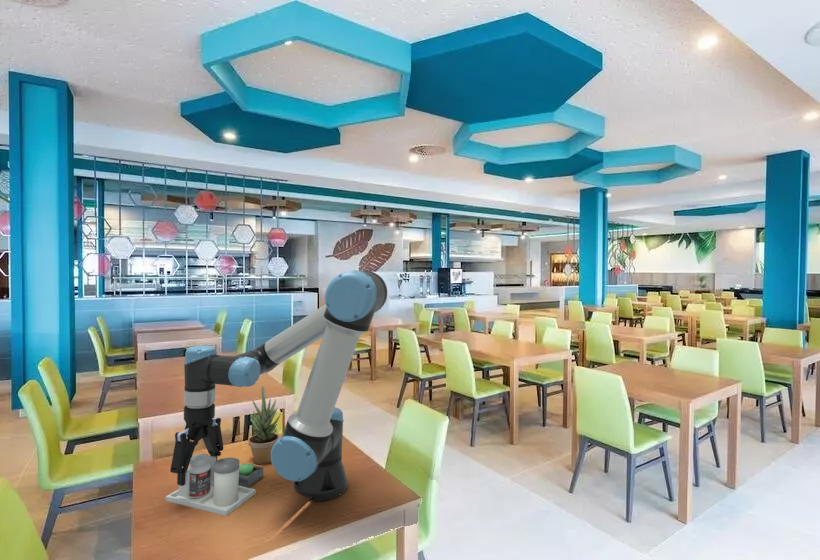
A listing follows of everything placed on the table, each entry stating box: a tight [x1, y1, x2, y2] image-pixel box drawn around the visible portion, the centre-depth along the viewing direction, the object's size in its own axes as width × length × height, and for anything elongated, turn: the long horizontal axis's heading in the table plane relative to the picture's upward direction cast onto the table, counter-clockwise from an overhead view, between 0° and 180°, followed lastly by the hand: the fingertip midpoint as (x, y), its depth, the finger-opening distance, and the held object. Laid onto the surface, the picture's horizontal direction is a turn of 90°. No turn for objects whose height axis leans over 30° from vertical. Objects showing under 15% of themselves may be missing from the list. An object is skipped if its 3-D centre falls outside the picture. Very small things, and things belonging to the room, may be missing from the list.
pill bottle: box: [187, 453, 211, 499], centre depth 118 cm, size 6×6×10 cm
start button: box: [239, 463, 254, 476], centre depth 126 cm, size 4×4×2 cm
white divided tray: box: [165, 480, 257, 517], centre depth 116 cm, size 20×13×2 cm, turn 72°
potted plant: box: [247, 384, 281, 465], centre depth 142 cm, size 10×10×25 cm
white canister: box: [213, 457, 240, 507], centre depth 115 cm, size 6×6×10 cm
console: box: [239, 464, 264, 488], centre depth 126 cm, size 7×7×4 cm
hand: (197, 487), depth 118 cm, fingers open, 9 cm apart
